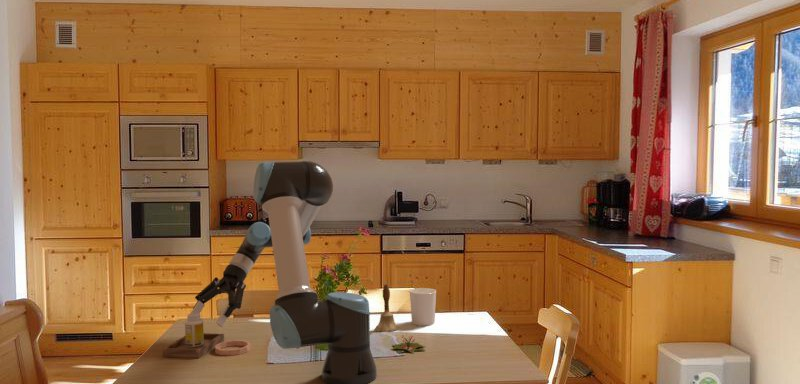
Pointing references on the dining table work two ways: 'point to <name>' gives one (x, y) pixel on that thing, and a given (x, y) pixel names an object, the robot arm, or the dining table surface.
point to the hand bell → (386, 314)
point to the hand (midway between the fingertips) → (204, 322)
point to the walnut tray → (186, 352)
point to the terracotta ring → (232, 351)
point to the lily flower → (408, 344)
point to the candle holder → (423, 306)
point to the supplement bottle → (194, 330)
